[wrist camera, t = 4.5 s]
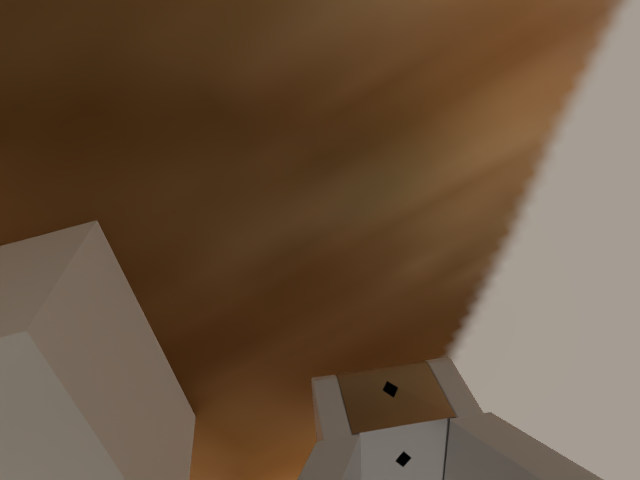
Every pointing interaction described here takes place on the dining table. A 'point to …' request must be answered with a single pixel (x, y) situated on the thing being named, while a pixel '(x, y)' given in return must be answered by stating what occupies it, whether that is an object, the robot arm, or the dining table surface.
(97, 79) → the dining table surface
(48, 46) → the dining table surface
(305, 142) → the dining table surface
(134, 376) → the offwhite block
